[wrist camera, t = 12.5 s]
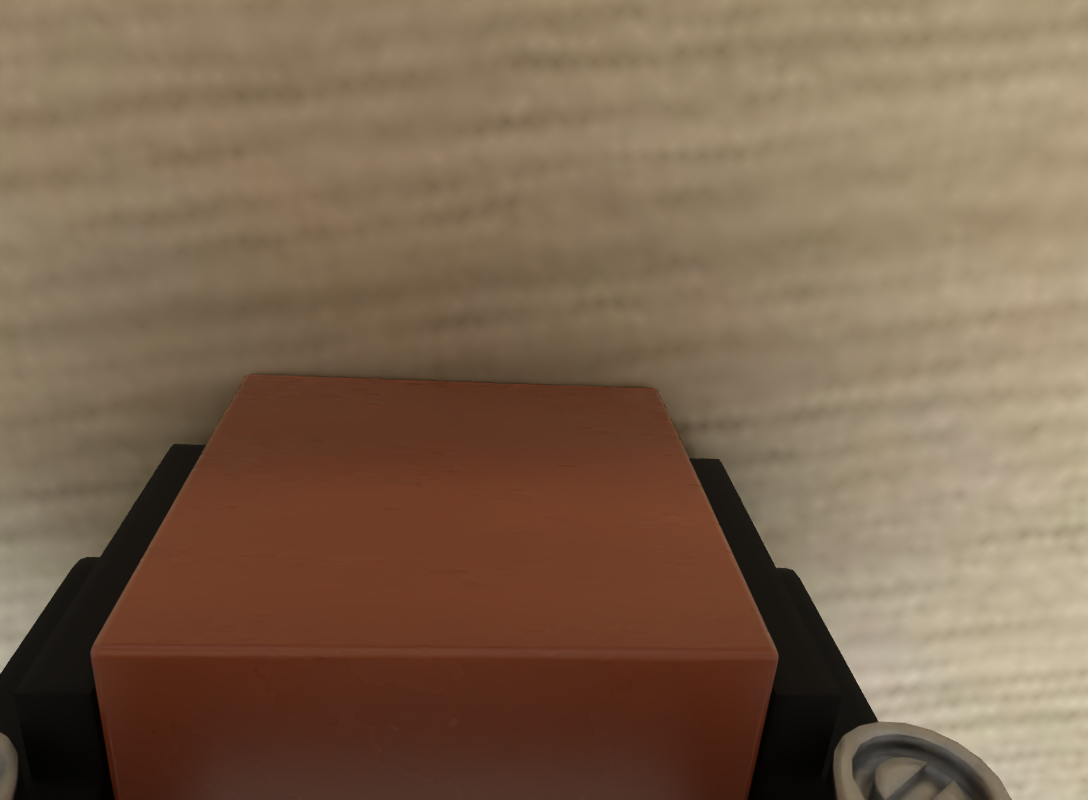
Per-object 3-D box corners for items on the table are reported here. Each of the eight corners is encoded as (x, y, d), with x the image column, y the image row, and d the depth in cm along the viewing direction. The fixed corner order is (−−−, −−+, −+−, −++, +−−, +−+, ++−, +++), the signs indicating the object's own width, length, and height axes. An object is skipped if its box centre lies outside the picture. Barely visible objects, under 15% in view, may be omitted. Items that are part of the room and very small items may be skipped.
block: (245, 370, 10) (82, 649, 6) (658, 385, 10) (784, 655, 6) (267, 698, 12) (157, 1087, 8) (617, 699, 12) (693, 1066, 8)
